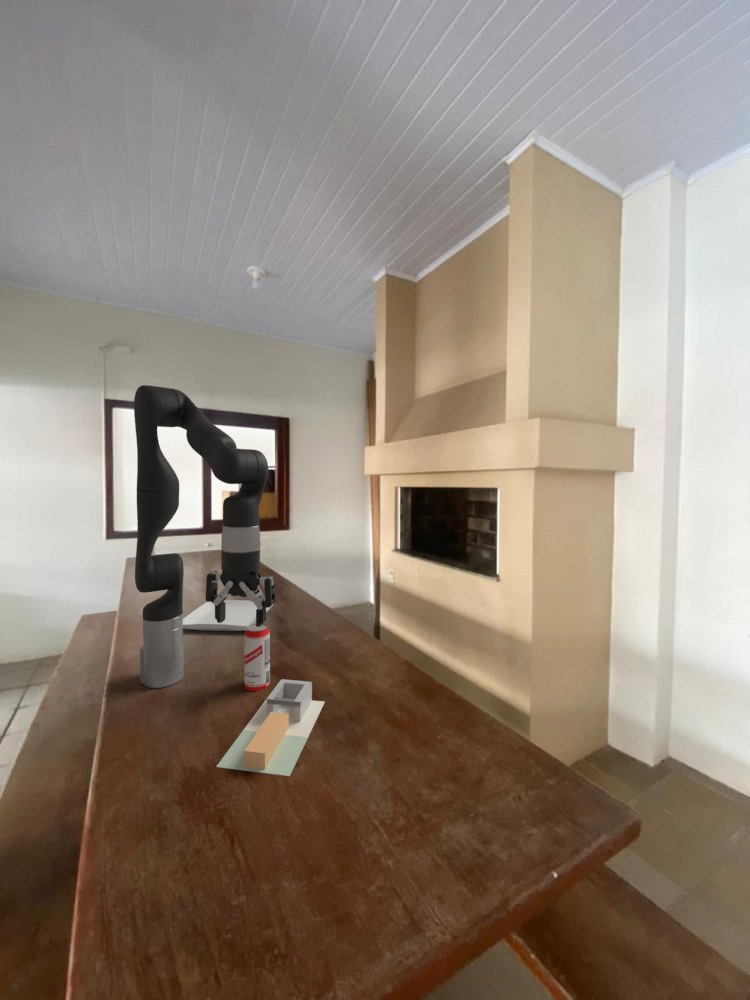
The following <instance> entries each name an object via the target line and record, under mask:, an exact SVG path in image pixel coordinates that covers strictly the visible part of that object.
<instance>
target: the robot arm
mask: <svg viewBox="0 0 750 1000" xmlns="http://www.w3.org/2000/svg"><path fill="white" fill-rule="evenodd" d="M133 412H134V413H133V415H134V426H135V427H134V429H135V437H136V451H137V454H136V455H137V456H136V457H137V459H136V460H137V462H136V463H137V464H136V465H137V468H136V469H137V473H136V519H137V524H136V525H137V526H136V527H137V536H136V537H137V539H136V548H135V549H136V551H135V561H134V562H135V566H134V583H135V587H136V589H137V591H138V592H139V593H143V594H144V593H145V594H146V593H153V592H159V591H160V592H161V591H165V590H166V592H164V594H162V595H161V596H160V597H159V598H156V599H154V600H152V601H151V602H148V603H147V604H146V605H144V606H143V609H142V637H143V640H142V641H143V644H142V645H141V646H140V647H139V665H140V667H139V672H140V674H139V675H140V678H139V679H140V684H144V686H145V687H147V688H152V689H160V688H165V687H169V686H172V685H174V684H176V683H178V682H180V681H181V680H182V679H184V676H185V675H184V671H185V669H184V629H183V618H184V615H183V614H184V613H183V604H184V602H183V601H184V600H183V599H184V598H183V597H184V596H183V595H184V594H183V593H184V592H183V591H184V576H185V575H184V571H185V569H184V561H183V558H182V555H180V554H179V553H174V552H173V553H164V554H163V553H162V554H154V555H152V554H153V550H154V547H155V545H156V542H157V540H158V539H159V537H160V535H161V533H162V532H163V531H164V530H165V528H167V526H168V524H169V523H170V522H171V521H172V519H173V518H174V516H175V515H176V514H177V511H178V509H179V506H180V480H179V477H178V476H177V475H178V474H177V473H176V472H175V470H174V469H173V466H171V464H170V462H169V461H168V459H167V458H166V456H165V455H164V453H163V451H162V449H161V446H160V442H159V435H158V427H160V428H181V429H183V430H186V440H187V443H188V445H189V446H190V447H191V449H192V450H193V451H194V452H195V453H196V454H198V455H199V456H200V457H201V458H202V459H204V460H205V461H206V462H207V464H208V467H209V468H210V470H211V472H212V473H213V475H214V477H215V478H216V479H217V480H218V481H220V482H222V483H224V484H228V485H241V486H240V488H239V490H238V492H237V493H236V494H232V495H229V496H227V497H225V498H224V500H223V503H222V531H221V544H220V545H221V546H220V547H221V549H220V550H221V551H220V553H221V555H220V556H221V559H220V560H221V564H220V567H221V570H222V571H221V572H218V570H214V571H211V572H209V573H207V574H206V585H205V599H204V600H205V602H212V603H214V605H215V619H216V620H217V622H218V623H222V622H223V621H224V620H225V617H226V603H224V601H225V600H227V599H228V597H229V596H231V597H237V596H239V597H242V598H247V597H248V599H249V601H252V602H254V604H255V605H256V607H257V608H258V609H256V627H260V626H261V625H262V624H263V623H264V624H265V622H266V621H267V613H266V608H267V607H268V608H269V607H271V606H272V605H273V604H275V603H276V602H277V599H276V577H275V576H274V575H270V576H262V575H261V574H260V573H261V572H260V568H261V547H262V546H261V531H260V506H261V505H260V504H261V502H262V501H261V500H262V497H263V494H264V491H265V488H266V483H267V480H268V476H269V464H268V460H267V458H266V456H265V454H264V453H263V452H261V451H260V450H258V449H249V448H248V449H246V448H237V444H236V441H235V440H234V439H233V438H232V437H231V436H230V435H229V434H228V433H226V432H225V431H223V430H222V429H220V428H219V427H218V426H216V425H215V424H213V423H212V422H211V421H210V420H209V419H208V418H207V417H206V416H205V415H204V414H203V412H202V411H201V410H200V409H199V408H198V407H197V406H196V404H195V403H194V402H193V401H192V400H191V398H190V397H189V396H188V395H187V394H185V393H184V392H183V391H181V390H179V389H176V388H170V387H165V386H154V385H149V384H148V385H147V384H142V385H140V386H138V387H137V389H136V391H135V393H134V399H133ZM219 582H221V584H222V585H223V586H224V587H223V588H222V589H221V590H220V592H219V593H218V590H219V589H218V588H219ZM260 584H261V585H262V587H263V589H264V593H263V591H262V590H261V588H260V587H259V585H260ZM263 594H264V595H263ZM273 606H274V605H273ZM273 606H272V607H273ZM272 607H271V608H272Z"/></svg>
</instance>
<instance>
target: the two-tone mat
mask: <svg viewBox="0 0 750 1000" xmlns="http://www.w3.org/2000/svg"><path fill="white" fill-rule="evenodd" d="M325 702H326V701H323V700H313V682H312V681H307V680H296V679H295V680H293V679H283V678H281V679H280V680H279V682H277V684H276V686H275V687H274V688H273V689H272V691H271V692H270V694H269V695H268V696H267V697H266V699H265V700H264V702H262V704H261V706H260V707H259V708H258V710H257V711H256V713H255V714H253V717H251V719H250V721H249V722H248V723H247V724H246V725H245V727H244V728H243V730H242V731H241V732H240V734H239V735H238V737H236V739H235V741H233V743H232V744H231V746H230V748H229V749H228V750H227V752H226V753H225V754H224V756H223V757H222V758H221V759H220V760H219V762H218V764H217V765H216V766H215V767H216V768H220V769H221V768H222V769H230V770H236V771H238V770H239V771H243V772H245V771H247V772H252V773H260V774H261V773H262V774H268V775H276V776H284V777H285V776H286V777H290V776H291V775H292V772H293V770H294V769H295V766H296V764H297V761H298V759H299V757H300V756H301V753H302V751H303V749H304V747H305V744H306V743H307V741H308V739H309V736H310V734H311V732H312V730H313V728H314V725H315V724H316V722H317V720H318V718H319V716H320V713H321V712H322V708H323V707H324V705H325ZM270 712H276V713H286V714H289V728H288V730H287V732H286V733H285V735H284V737H283V739H282V740H281V742H280V744H279V746H278V747H277V749H276V751H275V753H274V754H273V756H272V758H271V760H270V761H269V763H268V765H267V767H266V768H265V769H259V768H251V767H244V750H245V749H246V747H247V746H248V745H249V743H250V742H251V740H252V739H253V737H254V736H255V734H256V733H257V731H258V730H259V728H260V727H261V726H262V724H263V723H264V721H265V720H266V718H267V717H268V715H269V714H270Z"/></svg>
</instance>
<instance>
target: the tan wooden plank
mask: <svg viewBox="0 0 750 1000" xmlns="http://www.w3.org/2000/svg"><path fill="white" fill-rule="evenodd" d="M288 728H289V714H286V713H276V712H270V714H269V715H268V717H267V718H266V720H265V721H264V723H263V724H262V726H261V727H260V728H259V730H258V731H257V733H256V734H255V736H254V737H253V739H252V740H251V742H250V743H249V745H248V746H247V747H246V749H245V750H244V767H251V768H259V769H265V768H266V767H267V765H268V763H269V761H270V760H271V758H272V756H273V754H274V753H275V751H276V749H277V747H278V746H279V744H280V742H281V740H282V739H283V737H284V735H285V733H286V732H287V730H288Z"/></svg>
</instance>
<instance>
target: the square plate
mask: <svg viewBox="0 0 750 1000" xmlns="http://www.w3.org/2000/svg"><path fill="white" fill-rule="evenodd" d="M224 603H226V617H225V620H224V621H223V622H222V623H218V622H217V620H216V619H215V605H214V603H212V602H207V601H205V602H204V603H202V604H201V605H200V606H198V607H197V608H195V609H194V610H193V611H191V612H190V613H188V614H187V615H186V616H183V630H196V631H210V632H211V631H219V632H222V631H225V632H241V631H243V632H244V631H245V632H246V630H247V626H249V625H251V624H255V623H256V609H258V608H257V607H256V605H255V604H254V602H252V601H250V600H244V599H243V600H242V599H241V600H239V599H237V600H236V599H226V600H225V601H224ZM274 604H275V603H274ZM274 604H273V605H272V606H271V607H269V608H268V607H267V608H266V614H267V613H268V612H269V611H270V610H271V608H272V607H273V606H274Z"/></svg>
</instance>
